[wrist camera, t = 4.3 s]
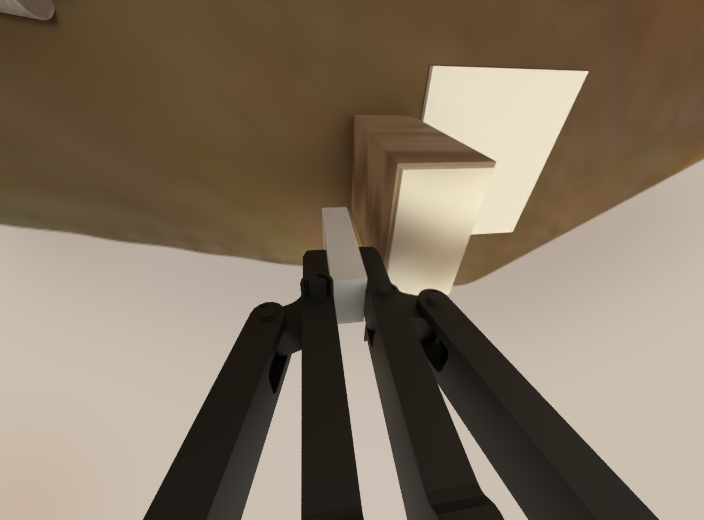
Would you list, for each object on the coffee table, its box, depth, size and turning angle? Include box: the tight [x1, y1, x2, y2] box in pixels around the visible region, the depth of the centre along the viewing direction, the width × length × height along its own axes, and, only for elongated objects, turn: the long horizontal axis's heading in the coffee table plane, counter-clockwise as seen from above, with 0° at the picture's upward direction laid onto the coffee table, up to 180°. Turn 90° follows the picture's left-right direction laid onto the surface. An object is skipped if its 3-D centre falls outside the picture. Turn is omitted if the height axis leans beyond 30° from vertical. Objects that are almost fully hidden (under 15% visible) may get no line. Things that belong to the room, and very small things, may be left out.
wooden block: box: [351, 115, 496, 295], centre depth 20 cm, size 9×5×13 cm, turn 178°
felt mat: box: [421, 66, 588, 234], centre depth 26 cm, size 16×14×1 cm
